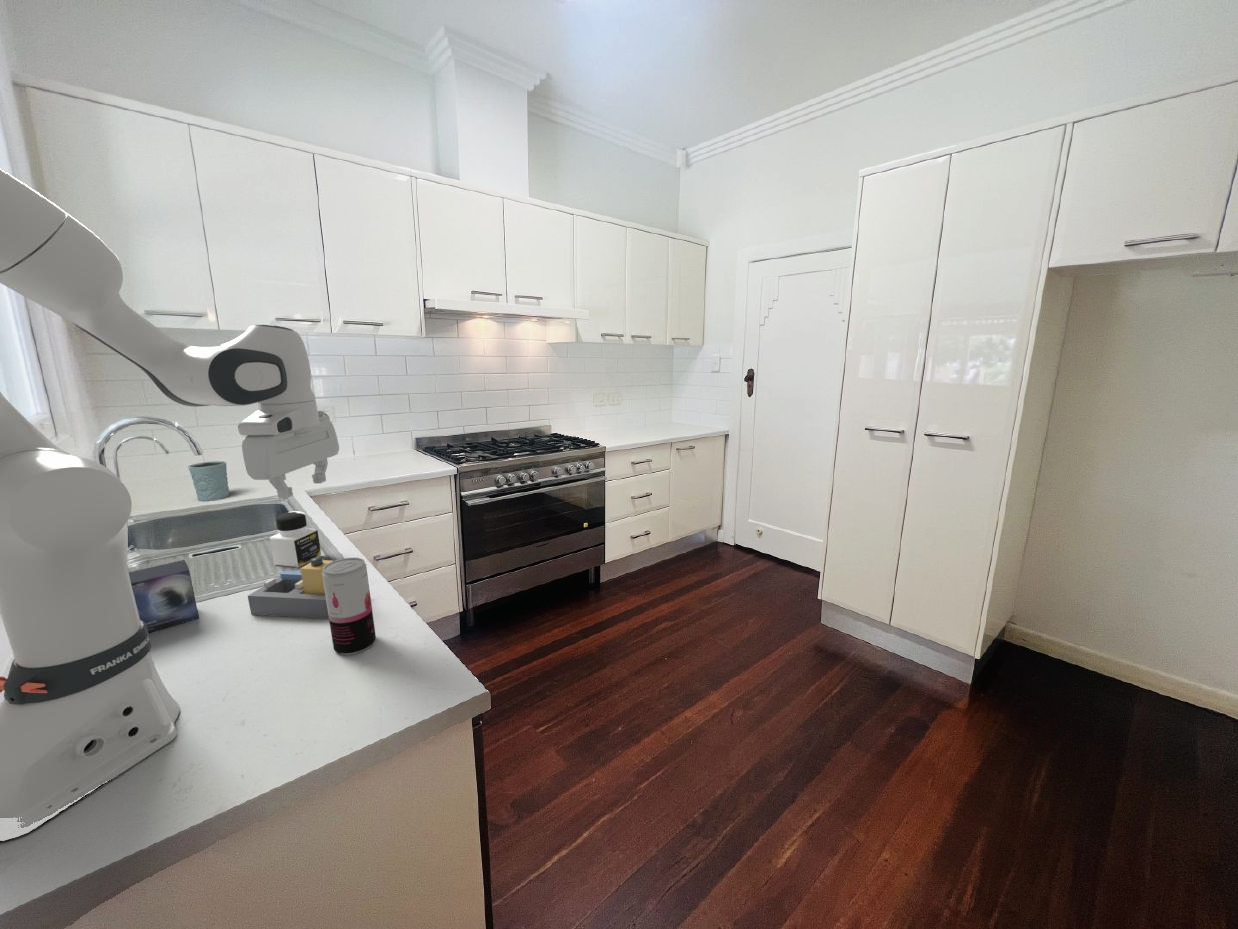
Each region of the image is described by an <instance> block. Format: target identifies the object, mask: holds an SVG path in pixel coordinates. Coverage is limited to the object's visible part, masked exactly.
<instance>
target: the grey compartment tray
mask: <svg viewBox="0 0 1238 929" xmlns="http://www.w3.org/2000/svg"><path fill="white" fill-rule="evenodd" d="M263 585H264V586H262V587H259V588H258V589H257V590H255V591H253V592H252V593H250V594H248V595H247V600H248V605H249V610H250V615H251V614H254V616H269V615H274V616H273V617H286V616H288V618H289V617H290V618H303V619H304V618H306V619H307V618H309V619H324V620H326V619H327V620H329V616H328V609H327V603H326V596H325V595H318V594H305V593H304V587H303V581H302V575H301V571H287V570H286V571H285V570H284V571H283V572H281V573H280V576H278V577H277V578H275V577H274V578H272V577H271V578H270V579H268V580H266V581H264V582H263ZM256 614H257V615H256ZM258 614H259V615H258ZM276 615H277V616H276Z"/></svg>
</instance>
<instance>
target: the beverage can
mask: <svg viewBox="0 0 1238 929" xmlns="http://www.w3.org/2000/svg"><path fill="white" fill-rule="evenodd" d="M332 561H333V562H331V563H329V564H327V565H325V566H324V567H323V572H322V577H323V583H324V590H325V596H326V603H327V609H328V616H329V619H328V620H329V621H328V622H329V627H330V634H331V640H332V646H333V647H332V648H333V650H334V652H336V653H338V654H340V655H343V656H344V655H347V656H348V655H355V654H358V653H361V652H364V651H366V650H367V649H369V648H370V647H371V646H372V645H373V644H374V643H375V641H376V639H377V637H376V636H377V635H376V629H375V628H376V627H375V620H374V614H373V607H372V606H373V604H372V599H371V598H372V597H371V591H370V584H369V575H368V567H367V564H366V562H365V560H364V559H363V558H361V557H345V558H340V559H336V560H332Z"/></svg>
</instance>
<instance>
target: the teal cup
mask: <svg viewBox="0 0 1238 929" xmlns="http://www.w3.org/2000/svg"><path fill="white" fill-rule="evenodd" d="M188 471H189V473H190V476H191V480H192V484H193V486H194V489H195V493H196V496H197V499H198V502H212V501H214V502H215V501H218V500H223V499H226V498H229V497H230V489H229V485H228V484H229V482H228V472H227V471H228V470H227V462H226V461H224V460H221V461H220V460H219V461H217V460H215V461H204V462H197V463H192V464H191V465H189V466H188Z"/></svg>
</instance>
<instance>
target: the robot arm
mask: <svg viewBox="0 0 1238 929" xmlns="http://www.w3.org/2000/svg"><path fill="white" fill-rule="evenodd" d="M110 248H111V247H109V246H108V245H107V244H106V243H105V242H104V241H103V240H101V239H100V237H99V236H97V235H96V234H95V233H94V232H93V231H91V230H90V229H89V228H88V227H87V226H85V225H84V224H83V223H81V222H79V220H77V219H76V218H74V217H73V216H72V215H70V214H69V213H67V212H66V211H64V210H63V209H62V208H60V207H59V206H57V205H56V204H55V203H54V202H52V201H50V200H49V199H47V197H45V196H43V195H42V194H40V193H39V192H38V191H36V190H34V189H33V188H31V187H30V186H29V185H27V184H25V183H23V181H20V180H19V179H18V178H15V176H12V174H9V172H6V171H4V170H3V169H1V168H0V284H1V285H3V286H5V287H7V288H8V289H11V290H12V291H14V292H15V293H18V294H19V295H21V296H23V297H25V298H26V299H28V300H30V301H32V302H33V303H36V304H38V305H39V306H41V307H43V308H45V309H47V310H49V311H51V312H52V313H55V315H57V316H59V317H61V318H63V319H64V320H66V321H68V322H70V323H71V324H73V325H74V326H76V327H77V328H79V329H80V330H81V331H83V332H85V333H86V334H87V335H89V336H91V337H92V338H94V339H95V340H97V341H98V342H100V343H101V344H103V345H104V346H106V347H107V348H109V349H110V350H112V351H114V352H115V353H117V354H119V355H120V356H122V357H123V358H125V359H126V360H128V361H129V362H131V363H133V364H134V365H135V366H137V367H138V368H140V370H141V371H143V372H144V373H145V374H146V375H147V376H148V377H149V379H150V380H152V382H153V383H154V384H155V386H156V387H157V388H158V390H160V391H161V392H162V394H163V395H165V396H166V397H167V398H168V399H170V400H171V401H173V402H175V403H178V404H180V405H183V406H187V407H194V408H195V407H208V406H217V407H220V406H221V407H245V406H249V405H253V404H256V403H257V406H258V409H257V410H256V411H254V412H253V413H252V414H251V415H249V416H247V418H245V419H243V420H242V421H241V422H239V423H238V425H237V431H238V433H239V435H241V436H245V437H244V438H243V439H242V442H241V448H242V449H241V450H242V457H243V461H244V467H245V470H246V473H247V475H248V476H249V477H250V479H252V480H255V481H266V480H267V481H268V482H269V483H270V484H271V485H272V487H273V488H274V489H276V492H277V493H276V494H277V497H278V498H279V499H281V500H282V499H283V500H284V499H285V500H286V499H288V498H291V497H292V496H293V495H294V492H293V488H292V486H288V485H287V484H286V480H287V478H286V475H287V474H288V473H292V472H294V471H297V470H301V469H302V468H305V467H307V466H310V465H314V473H313V474H312V475H311V478H312V482H313V484H323V483H325V482H326V481H327V478H326V477H327V476H326V473H327V472H326V471H327V468H328V463H329V460H328V459H329V458H331V457H335V456H337V455H338V454H339V451H340V445H339V440H338V436H337V432H336V429H335V427H334V424H333V422H332V421H331V419H330V416H329V415H328V414H327V413H326V412H324V411H323V410H318V406H317V400H316V396H315V394H314V392H313V390H312V386H311V384H312V371H311V370H312V369H311V365H310V361H309V360H310V359H309V355H308V351H307V348H306V346H305V343H304V341H303V339H302V337H301V335H300V334H299V333H298V332H297V331H295V330H294V329H293V328H292V329H291V328H289V327H285V326H278V325H269V324H254V325H250V326H248V328H247V330H246V331H245V332H243V333H242V334H240V335H239V336H237V337H236V338H234V339H232V340H230V341H228V342H225V343H221V344H220V346H198V345H197V346H196V345H191V344H187V343H183V342H180V341H178V340H175V339H174V338H172V337H170V336H168V334H166V333H165V332H164V331H163V330H161V329H159V328H158V326H157V327H156V326H155V325H154V324H153V323H151V322H150V321H149V320H147V319H146V318H145V317H143V316H142V315H140V314H139V313H138V312H136V311H135V310H133V309H132V308H131V307H130V306H129V305H128V304H127V303H126V302H125V301H124V300H123V298H122V296H121V295H120V291H121V288H122V285H123V279H124V278H123V268H122V264H121V262H120V259H119V258H118V256H117V254H115V252H114V251H112V250H111V249H110ZM132 504H133V503H132V498H131V494H130V492H129V491H128V489H127V487H126V486H125V484H124V483H123V482H122V480H121V479H120V478H119V477H118V476H117V475H116V474H115V473H114V472H112V471H111V469H109V468H107V467H106V466H105V465H103V464H101V463H100V462H97V461H95V460H92V459H88V458H85V457H81V456H78V455H74V454H70V453H69V452H67V451H65V450H63V449H62V448H60V447H58V446H57V445H56V444H54V443H53V442H52V441H51V440H50V439H49V438H48V437H46V436H45V435H44V434H43V433H42V432H41V431H40V430H38V428H37V427H36V426H34V425H33V424H32V423H31V422H30V421H29V420H28V418H26V417H25V416H24V415H23V414H22V413H20V411H18V409H17V408H16V407H15V406H14V405H13V404H12V403H11V402H10V401H9V400H8V399H7V398H6V397H5V396H4V395H3V394H2V392H1V391H0V617H1V621H2V623H3V627H4V630H5V632H6V635H7V639H8V641H9V645H10V649H11V651H12V654H13V658H14V659H13V660H12V662H11V664H10V668H9V671H8V674H7V678H6V677H5V676H0V693H1V692H3V691H4V693H3V697H4V698H3V699H2V701H1V702H0V818H14V817H15V818H18V820H17V822H21V823H22V822H24V823H25V824H24V823H22V824H23V825H22V824H20V825H21V826H20V827H21V828H24V827H28V826H30V825H31V824H33V822H34V823H35V822H37V821H40V820H42V819H43V818H45V817H47V816H50V815H52V814H53V813H55V812H56V811H58V809H61V808H63V807H64V806H66V805H68V804H69V803H72V802H74V800H77V799H78V798H79V797H82V796H84V795H85V794H86V793H88V792H89V791H91V790H93V789H95V788H96V787H98V786H99V785H102V784H103V783H105V782H106V781H108V780H110V779H112V780H113V779H115V778H117V777H118V776H119V774H120V773H121V774H123V773H124V772H126V771H127V770H128V769H130V768H132V767H133V766H135V765H137V764H138V763H140V762H141V761H143V760H144V759H145V758H146V759H147V757H149V756H150V755H152V754H153V753H154V752H157V751H158V750H159V749H161V748H162V747H164V746H165V745H167V744H169V743H170V742H172V741H173V740H174V739H175V738H176V737H177V736H178V735H177V734H178V732H177V729H176V726H175V722H176V720H177V718H178V716H179V713H180V706H179V703H178V702H177V701H176V700H175V699H174V697H173V696H172V695H171V694H170V693H169V691H168V689H167V688H166V685H165V684H164V682H163V681H162V679H161V676H160V674H159V673H158V670H157V669H156V666H155V662H154V661H153V659H152V656H151V649H152V642H151V638H150V635H149V633H148V630H147V627H146V624H145V622H144V621H142V620H140V617H139V613H138V609H137V605H136V601H135V597H134V593H133V589H132V585H131V581H130V576H129V572H130V571H129V564H128V562H129V560H128V559H129V557H128V549H129V548H128V545H129V538H128V536H129V535H128V534H129V533H128V532H129V530H128V521H129V518H130V516H131V513H132V507H133V505H132ZM121 774H120V775H121ZM117 775H118V776H117ZM110 781H111V780H110ZM19 817H20V821H19ZM21 817H22V818H21ZM18 826H19V825H18ZM18 828H19V827H18Z"/></svg>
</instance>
